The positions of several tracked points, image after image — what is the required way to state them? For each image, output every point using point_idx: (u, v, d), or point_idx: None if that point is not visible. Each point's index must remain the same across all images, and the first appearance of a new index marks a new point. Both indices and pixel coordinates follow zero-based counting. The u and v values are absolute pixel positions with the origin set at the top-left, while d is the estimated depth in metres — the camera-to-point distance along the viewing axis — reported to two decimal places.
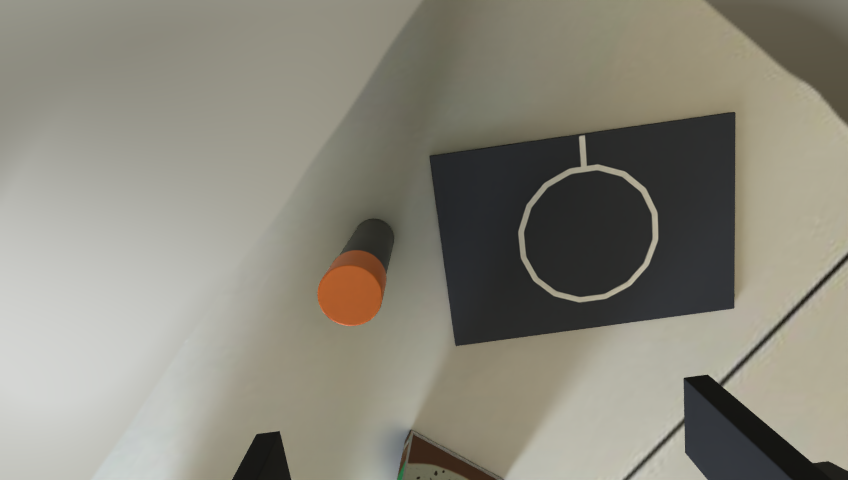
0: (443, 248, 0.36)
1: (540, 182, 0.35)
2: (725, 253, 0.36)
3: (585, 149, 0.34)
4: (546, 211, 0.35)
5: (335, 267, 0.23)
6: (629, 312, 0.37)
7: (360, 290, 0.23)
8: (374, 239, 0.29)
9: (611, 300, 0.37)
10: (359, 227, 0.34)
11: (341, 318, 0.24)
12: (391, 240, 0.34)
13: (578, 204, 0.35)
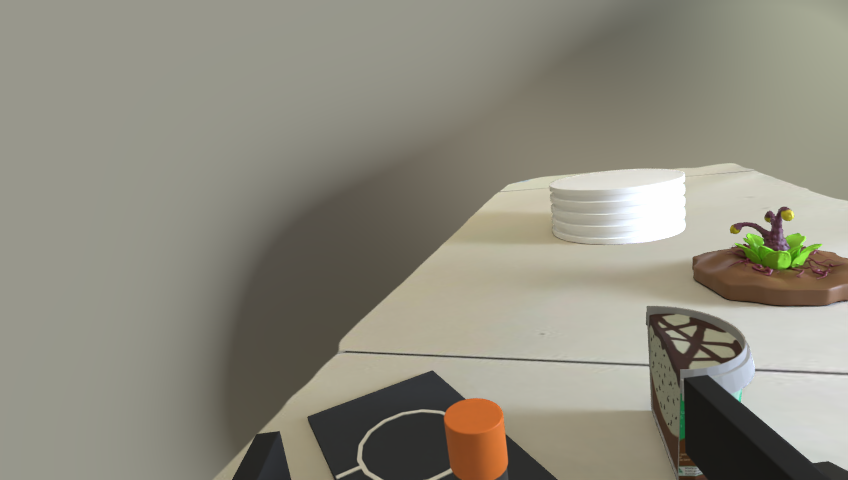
0: None
1: None
2: (399, 385, 0.54)
3: (346, 471, 0.41)
4: (404, 473, 0.40)
5: (453, 432, 0.25)
6: None
7: (464, 411, 0.26)
8: None
9: None
10: None
11: (496, 412, 0.25)
12: None
13: (391, 458, 0.42)
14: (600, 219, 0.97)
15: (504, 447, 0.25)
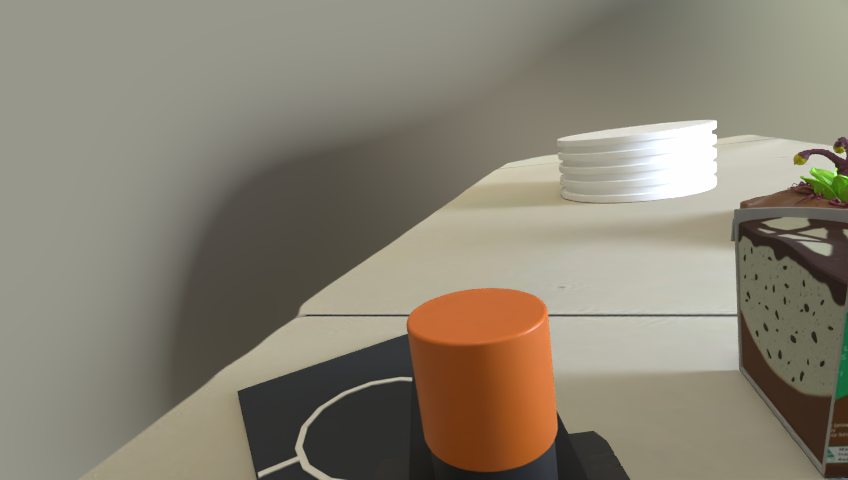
0: None
1: None
2: (371, 349, 0.39)
3: (275, 465, 0.26)
4: (365, 467, 0.25)
5: (426, 345, 0.10)
6: None
7: (455, 307, 0.11)
8: None
9: None
10: None
11: (530, 306, 0.11)
12: None
13: (348, 445, 0.27)
14: (619, 172, 0.82)
15: (551, 386, 0.11)
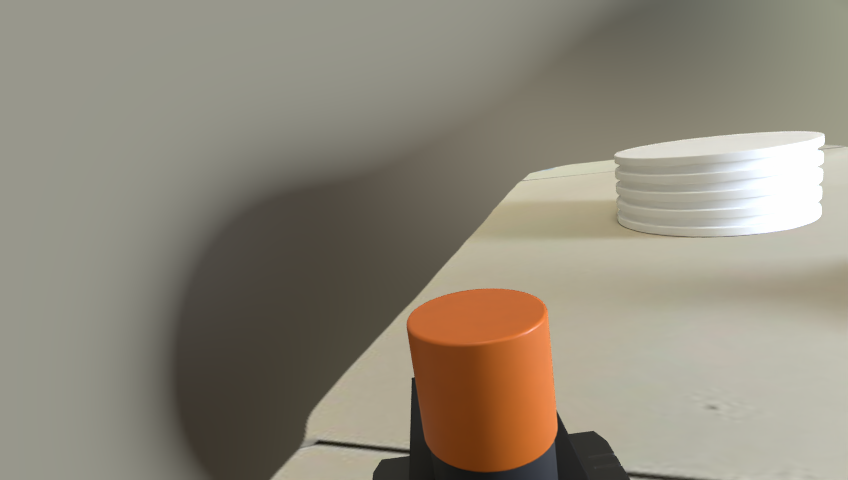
0: None
1: None
2: None
3: None
4: None
5: (426, 345, 0.10)
6: None
7: (455, 307, 0.11)
8: None
9: None
10: None
11: (530, 306, 0.11)
12: None
13: None
14: (705, 199, 0.65)
15: (551, 386, 0.11)
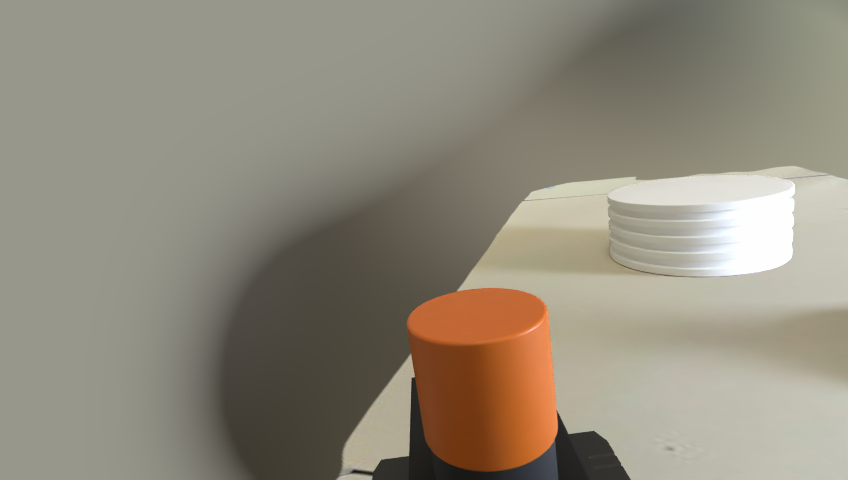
0: None
1: None
2: None
3: None
4: None
5: (427, 344, 0.10)
6: None
7: (455, 307, 0.11)
8: None
9: None
10: None
11: (530, 305, 0.11)
12: None
13: None
14: (686, 243, 0.73)
15: (551, 385, 0.11)
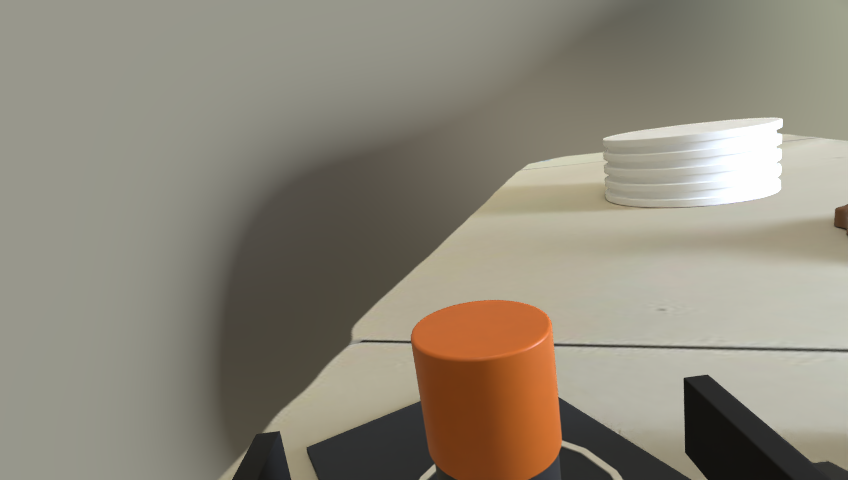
0: None
1: None
2: None
3: None
4: None
5: (431, 359, 0.10)
6: (581, 423, 0.27)
7: (459, 320, 0.11)
8: None
9: (582, 444, 0.26)
10: None
11: (534, 319, 0.11)
12: None
13: None
14: (679, 174, 0.76)
15: (555, 399, 0.11)
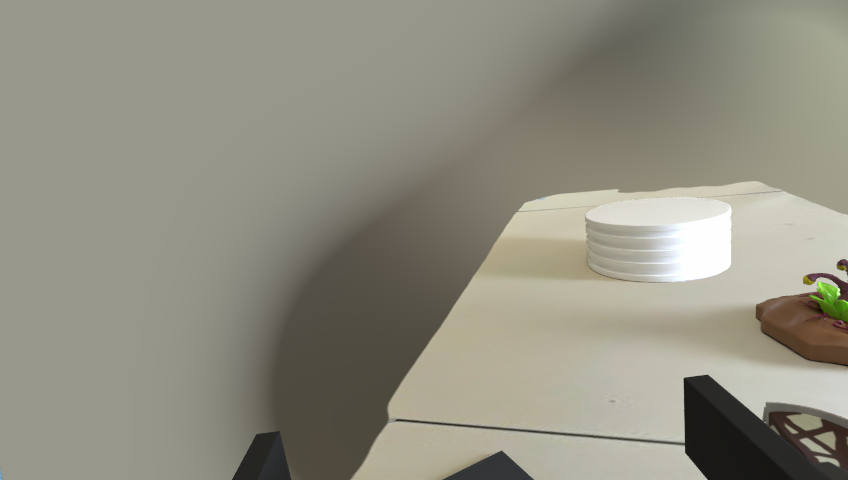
0: None
1: None
2: (469, 471, 0.49)
3: None
4: None
5: None
6: None
7: None
8: None
9: None
10: None
11: None
12: None
13: None
14: (644, 256, 0.92)
15: None
